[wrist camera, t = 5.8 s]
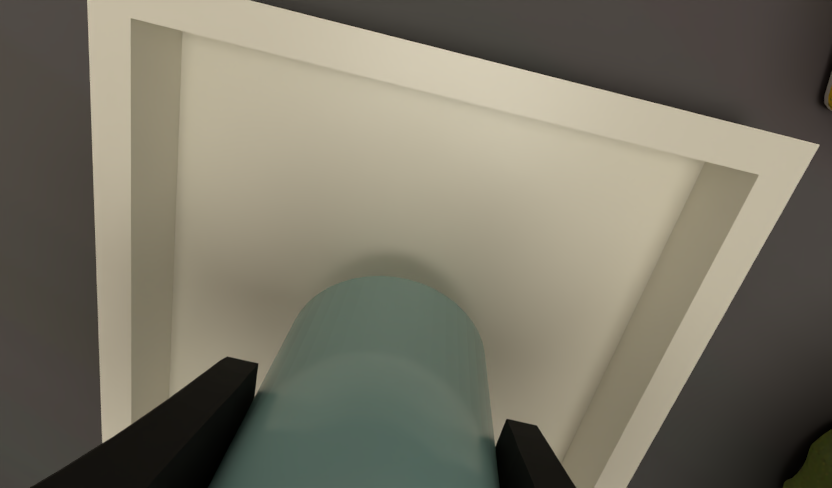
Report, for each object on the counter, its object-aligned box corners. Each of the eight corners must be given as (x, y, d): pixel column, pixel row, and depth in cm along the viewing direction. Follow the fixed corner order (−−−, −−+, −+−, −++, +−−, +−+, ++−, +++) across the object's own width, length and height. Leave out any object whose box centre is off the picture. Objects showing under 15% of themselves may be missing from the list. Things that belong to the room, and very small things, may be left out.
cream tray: (742, 126, 11) (819, 144, 9) (547, 520, 17) (565, 596, 14) (162, -21, 11) (85, -42, 8) (153, 434, 16) (104, 499, 14)
